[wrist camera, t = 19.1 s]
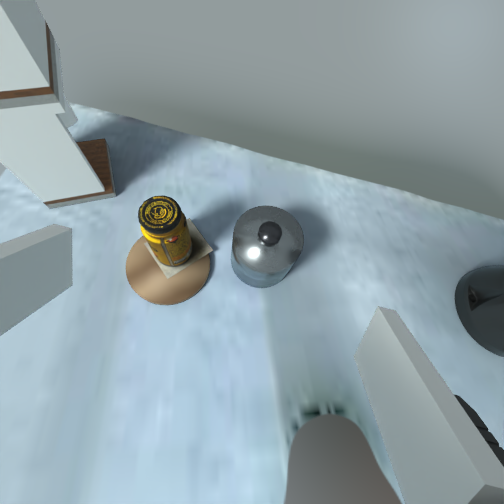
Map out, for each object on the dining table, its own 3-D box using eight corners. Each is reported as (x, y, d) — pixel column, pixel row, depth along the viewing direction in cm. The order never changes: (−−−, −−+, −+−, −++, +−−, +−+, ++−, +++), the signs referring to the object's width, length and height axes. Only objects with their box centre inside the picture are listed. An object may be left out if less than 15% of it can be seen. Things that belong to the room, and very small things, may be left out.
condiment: (144, 244, 46) (120, 204, 35) (189, 218, 49) (180, 174, 38) (167, 279, 44) (150, 249, 33) (213, 251, 47) (211, 214, 36)
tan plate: (224, 279, 46) (224, 277, 45) (148, 321, 43) (147, 320, 42) (187, 217, 50) (186, 214, 49) (114, 251, 46) (112, 248, 45)
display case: (116, 196, 50) (-73, -117, 18) (49, 208, 48) (-303, -123, 16) (108, 146, 54) (-59, -186, 22) (46, 155, 52) (-241, -199, 19)
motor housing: (300, 269, 48) (321, 244, 39) (251, 299, 45) (259, 280, 36) (268, 223, 51) (280, 189, 41) (220, 248, 48) (220, 218, 38)
